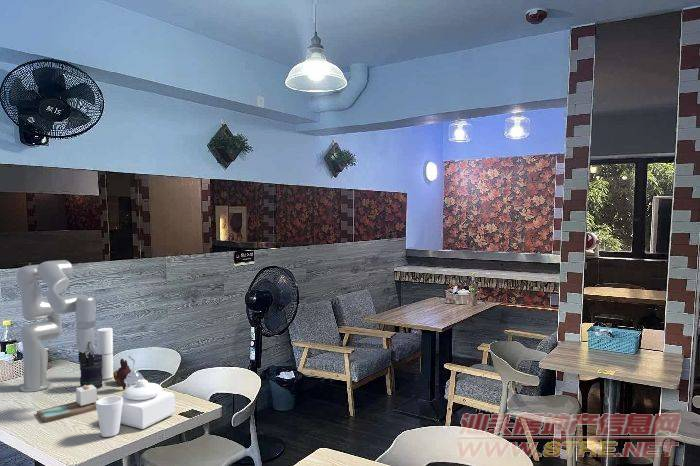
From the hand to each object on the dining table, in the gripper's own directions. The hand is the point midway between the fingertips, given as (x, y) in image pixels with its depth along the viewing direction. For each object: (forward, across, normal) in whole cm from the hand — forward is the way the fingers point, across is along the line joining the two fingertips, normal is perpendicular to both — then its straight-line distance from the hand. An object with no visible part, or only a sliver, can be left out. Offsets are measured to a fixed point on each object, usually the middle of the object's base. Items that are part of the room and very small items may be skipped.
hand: (86, 363), depth 212 cm
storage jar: (+19, -25, +9) cm, 33 cm away
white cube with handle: (+17, 0, 0) cm, 17 cm away
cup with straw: (+20, +7, +18) cm, 27 cm away
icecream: (+20, -10, +19) cm, 29 cm away
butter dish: (+20, +26, +14) cm, 36 cm away
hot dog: (+20, -22, +22) cm, 37 cm away
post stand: (+19, 0, -6) cm, 20 cm away
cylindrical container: (+19, -36, +19) cm, 46 cm away
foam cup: (+20, +33, -2) cm, 38 cm away
